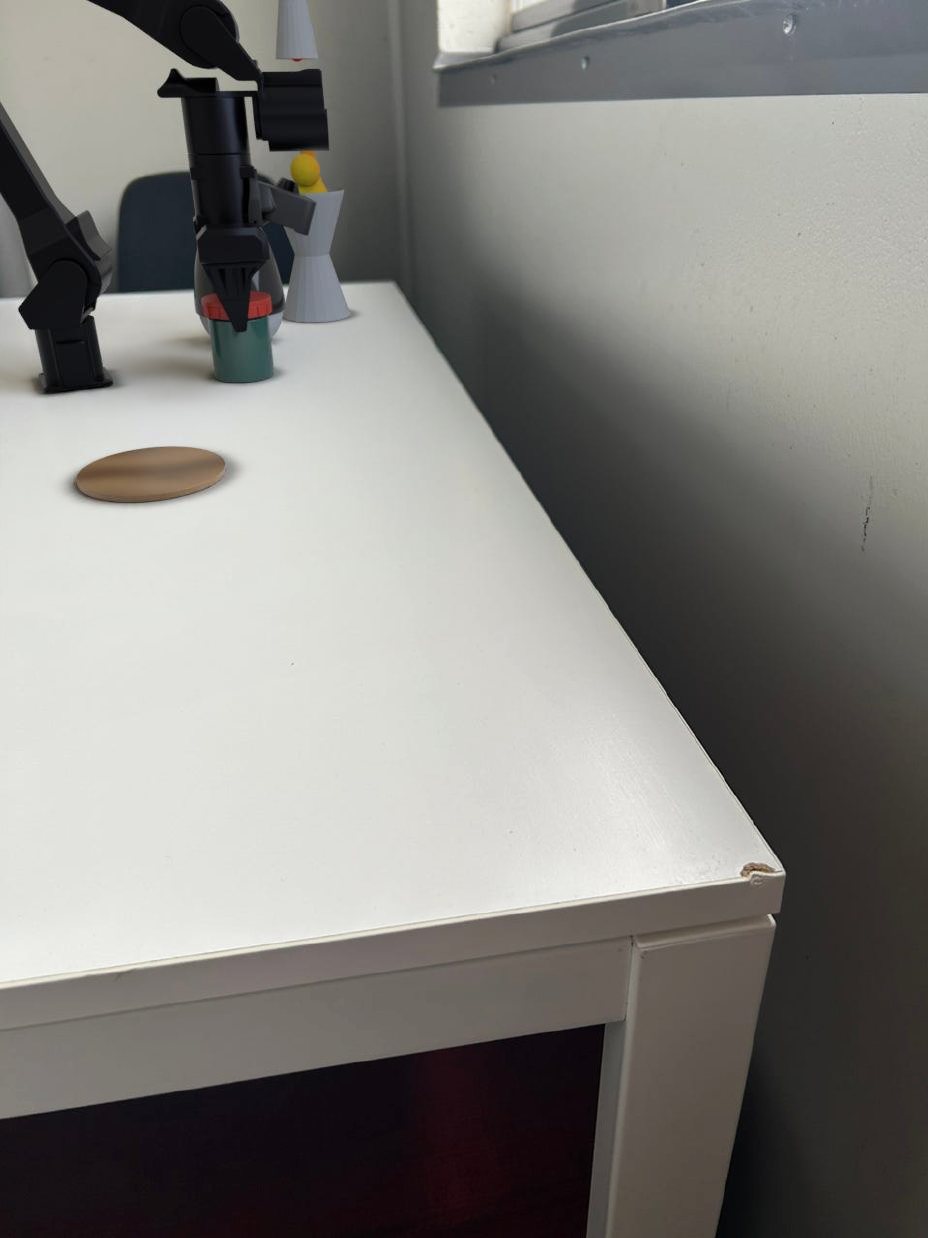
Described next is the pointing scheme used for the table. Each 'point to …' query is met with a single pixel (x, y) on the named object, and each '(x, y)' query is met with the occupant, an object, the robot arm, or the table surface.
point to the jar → (241, 350)
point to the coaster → (151, 474)
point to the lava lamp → (312, 270)
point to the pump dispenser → (261, 282)
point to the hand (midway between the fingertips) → (239, 324)
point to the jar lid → (257, 306)
